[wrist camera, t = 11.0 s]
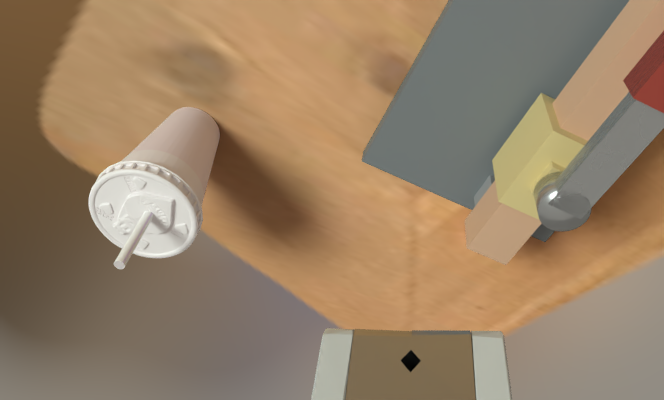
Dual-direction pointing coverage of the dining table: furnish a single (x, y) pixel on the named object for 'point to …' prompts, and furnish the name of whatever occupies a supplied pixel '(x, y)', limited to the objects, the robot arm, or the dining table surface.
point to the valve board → (509, 104)
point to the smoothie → (158, 188)
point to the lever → (607, 147)
